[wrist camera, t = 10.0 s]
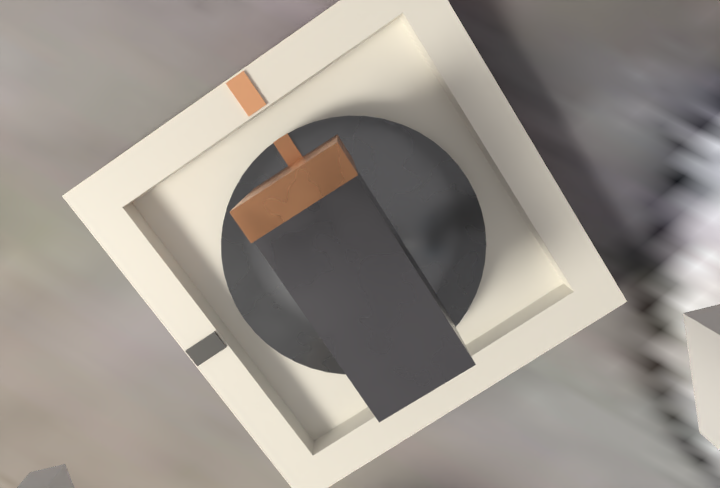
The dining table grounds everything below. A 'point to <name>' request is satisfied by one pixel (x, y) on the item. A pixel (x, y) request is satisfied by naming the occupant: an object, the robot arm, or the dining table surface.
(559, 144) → the dining table surface
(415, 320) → the dial
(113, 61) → the dining table surface
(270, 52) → the dial panel
